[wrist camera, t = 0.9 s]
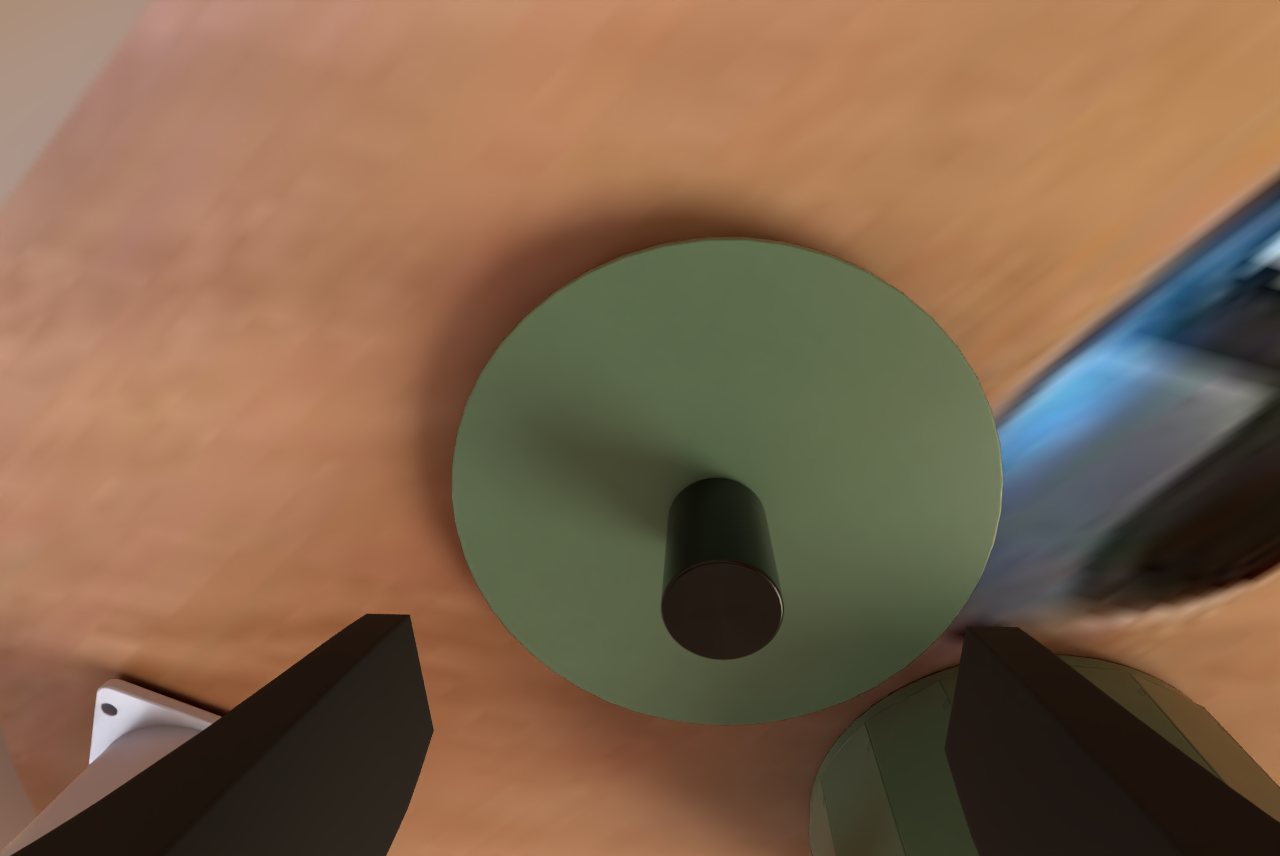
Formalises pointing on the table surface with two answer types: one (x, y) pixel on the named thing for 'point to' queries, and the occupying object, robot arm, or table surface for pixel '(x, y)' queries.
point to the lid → (727, 481)
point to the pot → (923, 784)
